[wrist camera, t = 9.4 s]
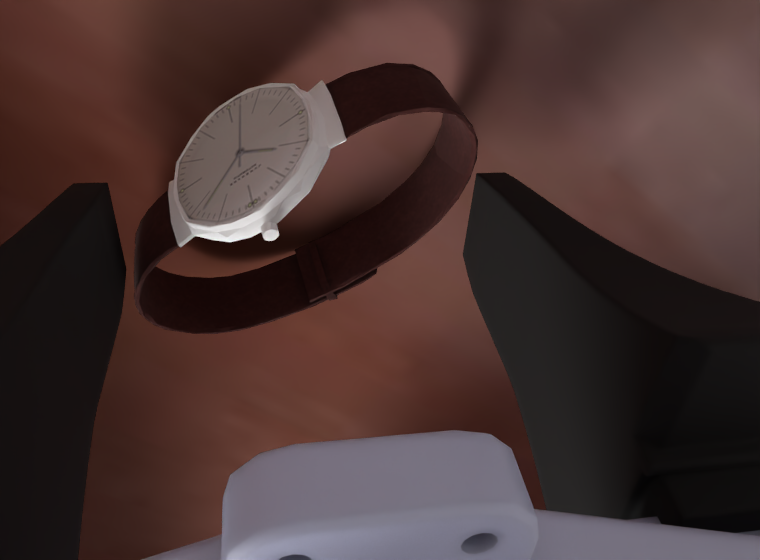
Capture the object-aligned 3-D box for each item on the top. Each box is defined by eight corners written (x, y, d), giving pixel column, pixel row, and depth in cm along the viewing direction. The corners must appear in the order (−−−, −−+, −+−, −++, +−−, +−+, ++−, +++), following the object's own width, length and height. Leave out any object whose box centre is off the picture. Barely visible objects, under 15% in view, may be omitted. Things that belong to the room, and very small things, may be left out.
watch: (389, -20, 13) (428, 51, 10) (492, 160, 16) (546, 254, 13) (83, 193, 14) (45, 303, 12) (226, 320, 17) (223, 433, 15)
